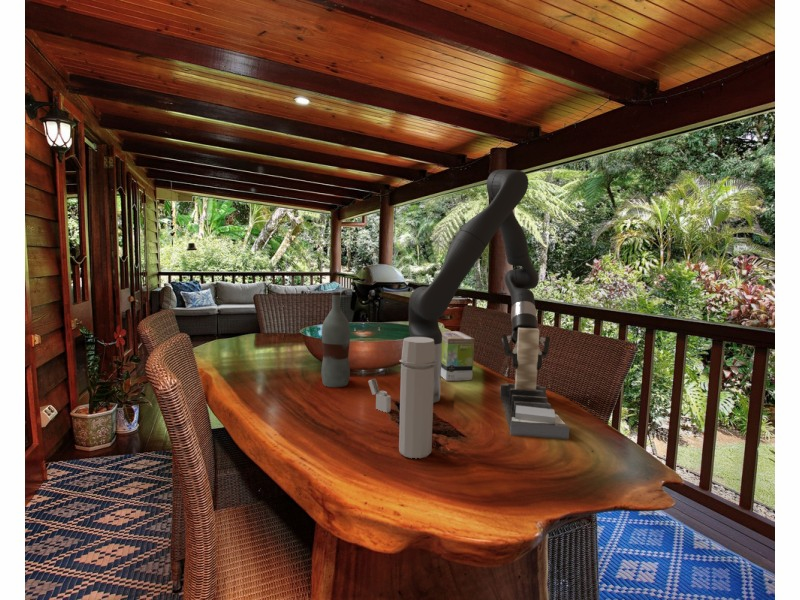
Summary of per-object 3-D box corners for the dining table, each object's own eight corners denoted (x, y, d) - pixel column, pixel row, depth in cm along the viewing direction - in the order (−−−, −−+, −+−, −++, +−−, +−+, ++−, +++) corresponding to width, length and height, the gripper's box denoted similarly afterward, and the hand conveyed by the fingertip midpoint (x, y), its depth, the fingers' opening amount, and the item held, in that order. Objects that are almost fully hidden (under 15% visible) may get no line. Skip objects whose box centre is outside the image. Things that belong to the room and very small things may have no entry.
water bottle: (430, 462, 94) (434, 344, 91) (393, 458, 96) (396, 341, 93) (436, 444, 103) (439, 336, 100) (402, 440, 105) (405, 334, 102)
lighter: (390, 411, 124) (391, 382, 123) (386, 412, 122) (387, 384, 122) (371, 405, 128) (372, 377, 127) (367, 406, 127) (368, 378, 126)
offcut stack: (514, 434, 106) (515, 415, 106) (511, 422, 114) (512, 404, 113) (565, 438, 105) (566, 419, 104) (558, 425, 112) (559, 408, 112)
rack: (510, 441, 106) (511, 418, 105) (499, 398, 136) (500, 380, 136) (568, 445, 104) (569, 422, 104) (544, 401, 135) (545, 383, 134)
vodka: (330, 389, 141) (330, 293, 138) (315, 382, 148) (316, 291, 145) (355, 384, 147) (356, 292, 144) (340, 378, 154) (341, 290, 151)
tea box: (473, 380, 156) (475, 338, 154) (445, 381, 153) (447, 338, 152) (457, 369, 170) (459, 330, 168) (432, 370, 168) (433, 330, 166)
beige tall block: (515, 398, 129) (519, 329, 127) (514, 395, 132) (518, 327, 130) (535, 400, 129) (539, 330, 126) (533, 396, 132) (537, 328, 129)
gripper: (501, 311, 136) (502, 359, 126) (550, 313, 134) (556, 362, 124) (499, 325, 142) (500, 373, 131) (546, 328, 140) (551, 376, 130)
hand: (527, 367), depth 128 cm, fingers closed on beige tall block, 5 cm apart
